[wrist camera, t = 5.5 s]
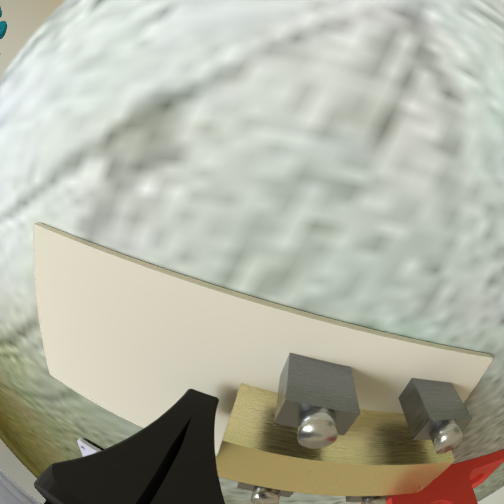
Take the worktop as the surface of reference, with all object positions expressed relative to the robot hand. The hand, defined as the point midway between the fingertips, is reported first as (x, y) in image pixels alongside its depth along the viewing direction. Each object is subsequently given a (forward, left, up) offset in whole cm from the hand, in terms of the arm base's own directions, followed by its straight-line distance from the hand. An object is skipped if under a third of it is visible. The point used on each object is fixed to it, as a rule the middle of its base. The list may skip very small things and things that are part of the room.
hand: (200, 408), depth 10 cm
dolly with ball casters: (0, -7, -1) cm, 7 cm away
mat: (0, -1, -1) cm, 2 cm away
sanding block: (0, -6, -1) cm, 6 cm away
